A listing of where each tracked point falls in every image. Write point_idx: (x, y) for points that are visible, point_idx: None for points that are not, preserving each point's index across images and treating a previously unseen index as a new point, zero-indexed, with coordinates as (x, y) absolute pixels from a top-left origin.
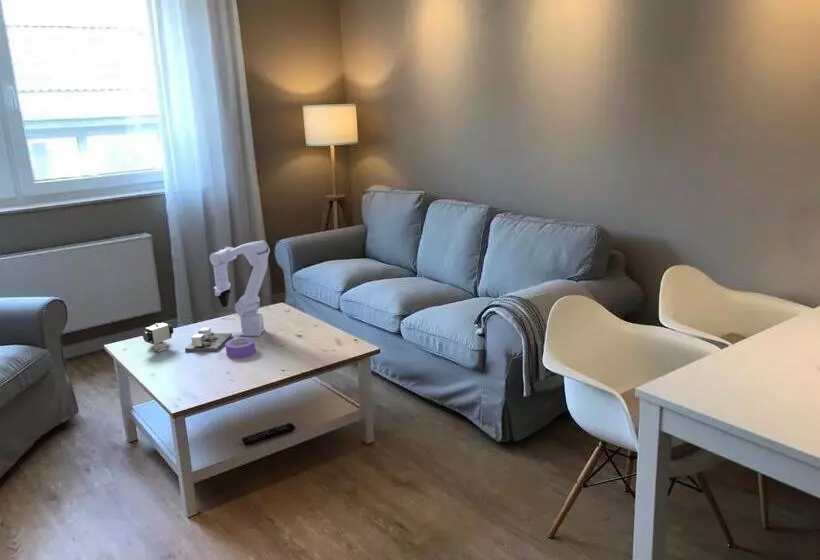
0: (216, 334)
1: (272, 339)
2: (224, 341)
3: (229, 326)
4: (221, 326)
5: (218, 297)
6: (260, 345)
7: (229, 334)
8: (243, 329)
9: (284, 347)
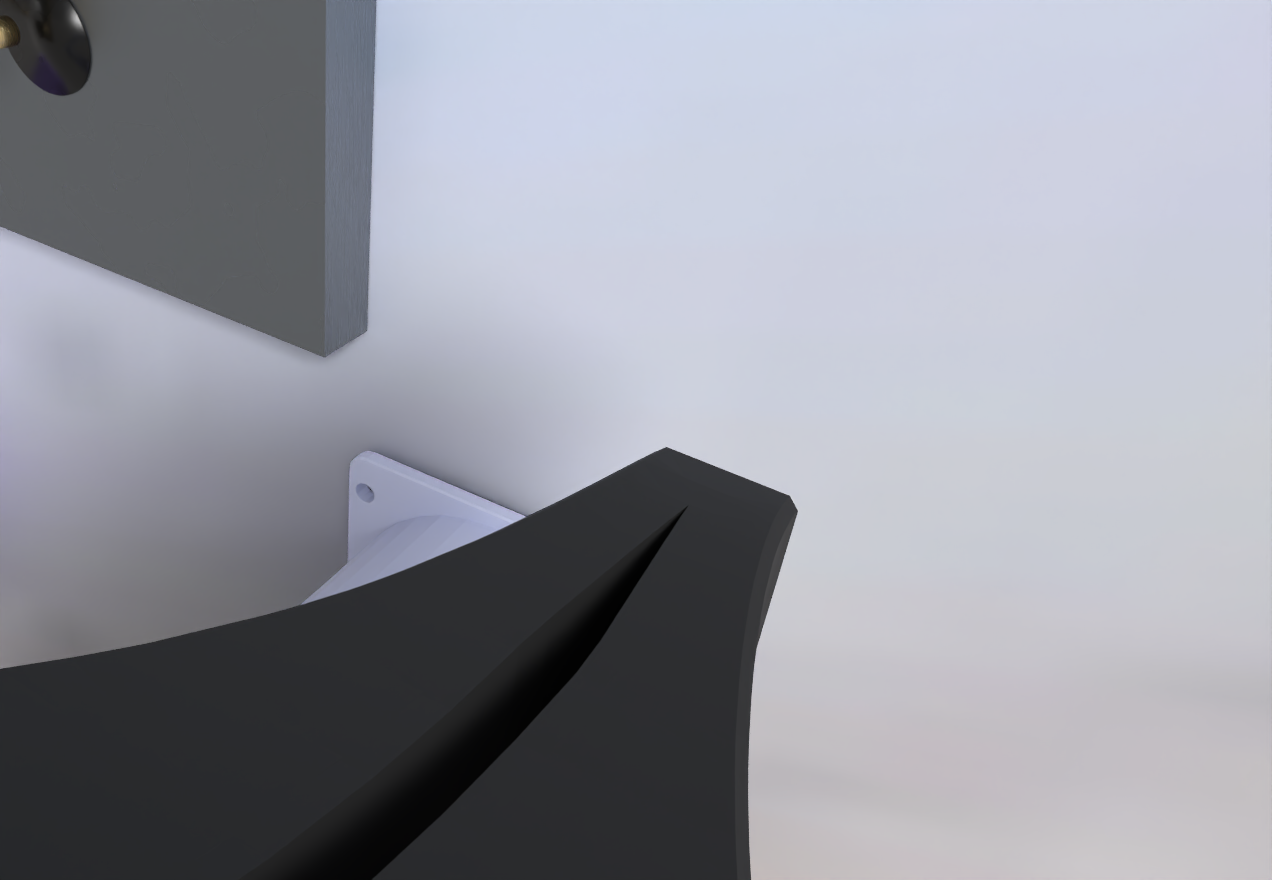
0: (259, 26)
1: None
2: (9, 221)
3: (1053, 265)
4: (1161, 22)
5: (129, 670)
6: (70, 649)
7: (258, 310)
8: (323, 586)
9: None
